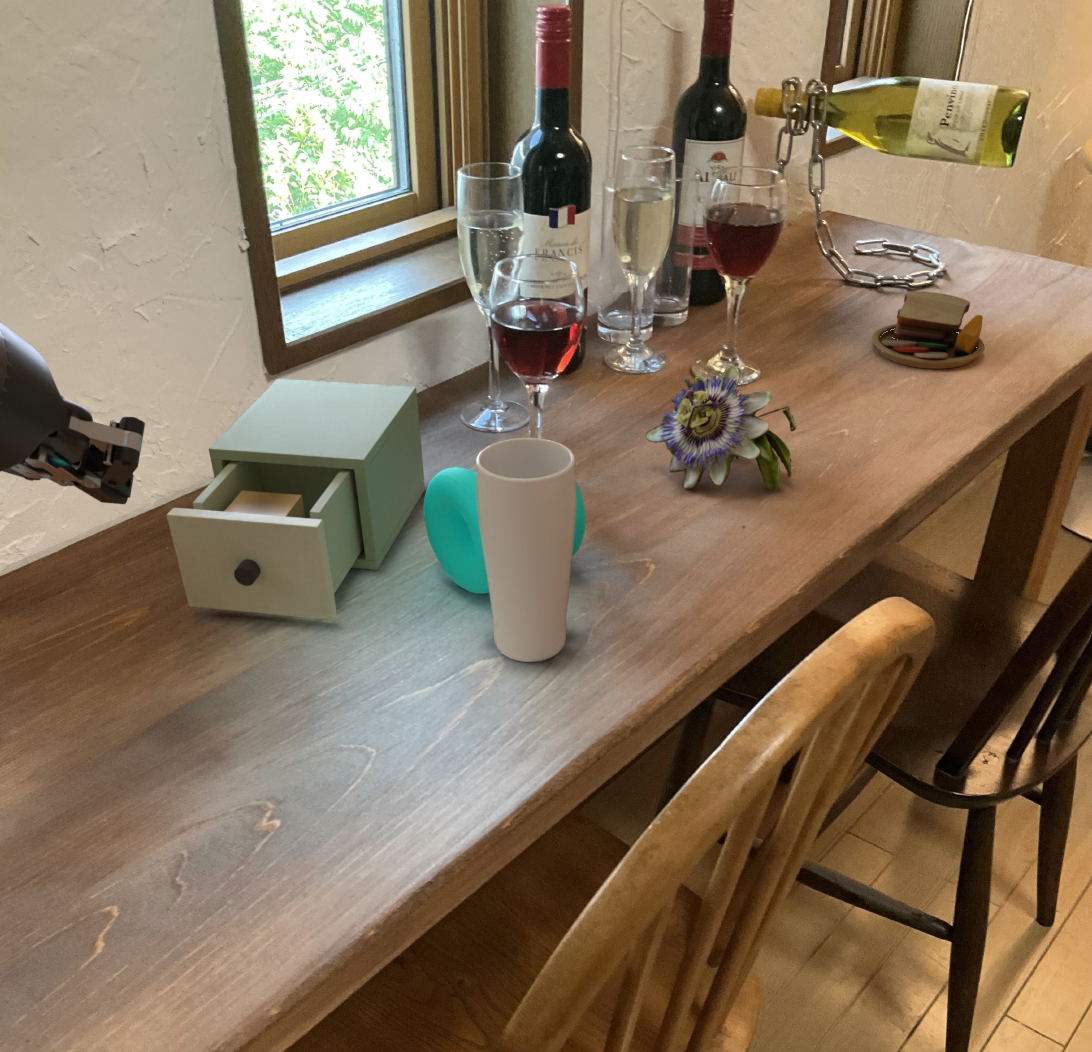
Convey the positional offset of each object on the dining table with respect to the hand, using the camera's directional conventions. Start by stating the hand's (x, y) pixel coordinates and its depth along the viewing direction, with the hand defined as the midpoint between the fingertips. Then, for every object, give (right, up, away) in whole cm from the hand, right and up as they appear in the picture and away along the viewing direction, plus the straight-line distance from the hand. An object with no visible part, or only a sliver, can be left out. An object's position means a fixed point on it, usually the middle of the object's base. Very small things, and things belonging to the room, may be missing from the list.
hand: (118, 488), depth 70 cm
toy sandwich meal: (+70, +29, +60) cm, 97 cm away
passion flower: (+43, +9, +36) cm, 57 cm away
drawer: (+6, -2, +21) cm, 22 cm away
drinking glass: (+26, -9, +14) cm, 30 cm away
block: (+5, -2, +19) cm, 20 cm away
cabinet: (+8, +3, +29) cm, 30 cm away
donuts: (+23, -2, +22) cm, 32 cm away
